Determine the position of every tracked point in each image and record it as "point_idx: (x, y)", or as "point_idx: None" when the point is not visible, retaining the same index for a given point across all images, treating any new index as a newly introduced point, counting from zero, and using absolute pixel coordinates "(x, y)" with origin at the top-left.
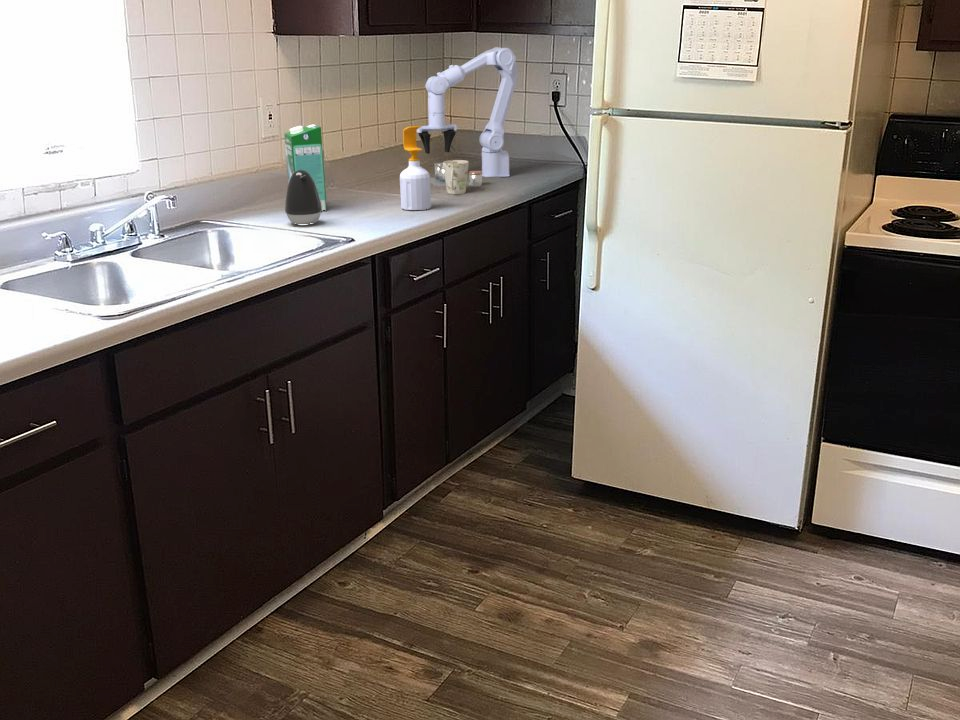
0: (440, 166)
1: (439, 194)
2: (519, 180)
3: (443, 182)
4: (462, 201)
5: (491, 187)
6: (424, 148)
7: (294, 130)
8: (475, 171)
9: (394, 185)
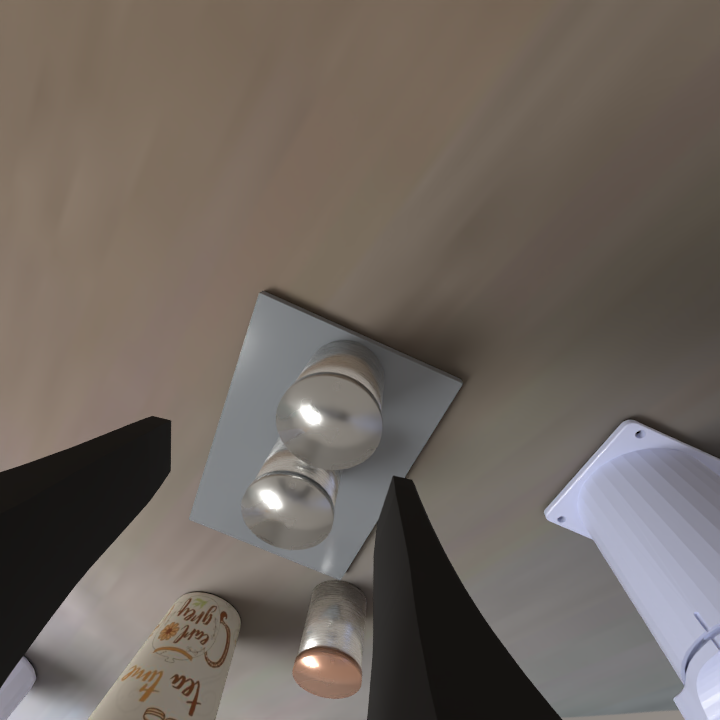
0: (246, 510)
1: (141, 594)
2: (589, 636)
3: None
4: None
5: None
6: (102, 436)
7: None
8: (333, 673)
9: (47, 312)
